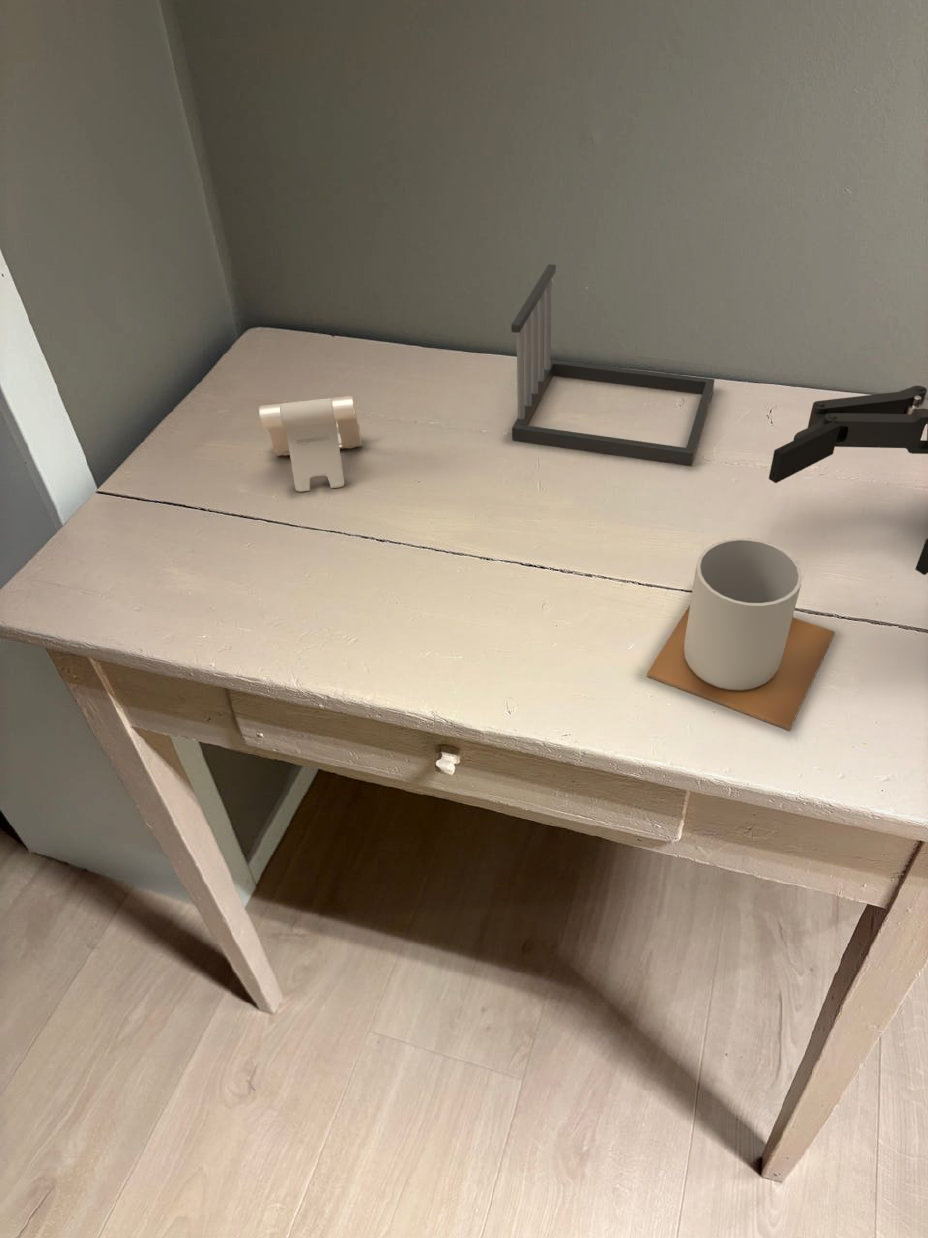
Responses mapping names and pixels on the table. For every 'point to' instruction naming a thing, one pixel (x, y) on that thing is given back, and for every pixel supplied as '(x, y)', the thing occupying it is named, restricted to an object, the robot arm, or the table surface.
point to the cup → (741, 612)
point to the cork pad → (763, 702)
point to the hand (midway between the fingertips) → (845, 509)
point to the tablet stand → (313, 436)
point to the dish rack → (540, 369)
